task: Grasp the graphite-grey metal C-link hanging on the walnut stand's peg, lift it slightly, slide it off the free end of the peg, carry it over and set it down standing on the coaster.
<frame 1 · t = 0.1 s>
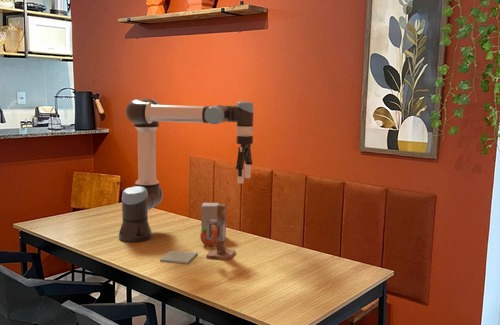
hand: (244, 180, 236), 28 cm above the table, fingers open, 13 cm apart
stand: (221, 255, 216), on the table
fruit: (209, 245, 230), on the table
coaster: (179, 257, 212), on the table
skincare box: (210, 236, 244), on the table
c link: (215, 239, 207), point 9 cm above the table, touching stand
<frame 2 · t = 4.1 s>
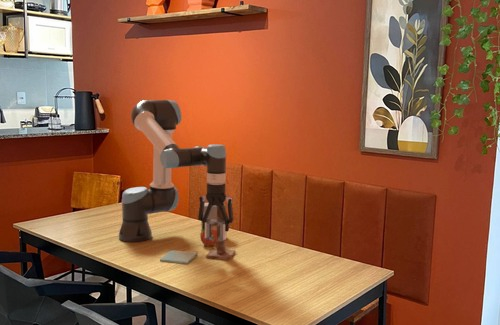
hand: (215, 237, 207), 10 cm above the table, fingers closed on c link, 7 cm apart
c link: (215, 239, 207), point 9 cm above the table, touching gripper, stand
everything else where it was.
when the fingers open (3 cm above the table, at t = 13.0 s): c link drops 1 cm, resting on coaster.
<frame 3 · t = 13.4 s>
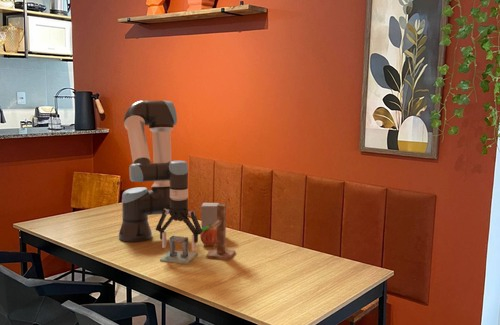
hand: (178, 248, 211), 4 cm above the table, fingers open, 12 cm apart
c link: (178, 255, 212), point 1 cm above the table, touching coaster
everything else where it was.
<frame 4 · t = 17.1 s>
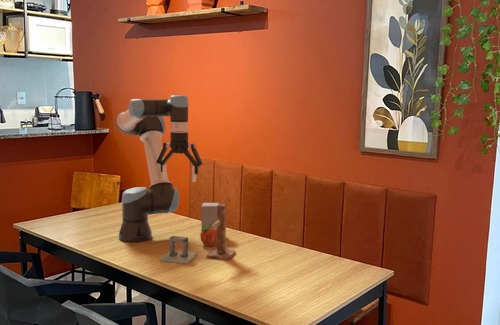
hand: (179, 180, 219), 31 cm above the table, fingers open, 13 cm apart
nothing on the table moved.
at the end: c link inside the target area on the coaster (0.0 cm from its centre), point 0.8 cm above the coaster's base; c link touching coaster; the gripper is holding nothing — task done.
